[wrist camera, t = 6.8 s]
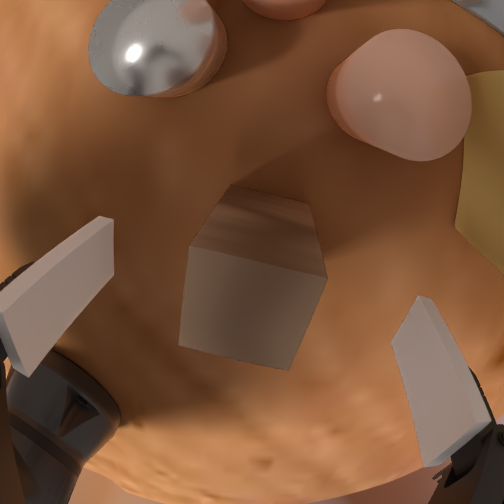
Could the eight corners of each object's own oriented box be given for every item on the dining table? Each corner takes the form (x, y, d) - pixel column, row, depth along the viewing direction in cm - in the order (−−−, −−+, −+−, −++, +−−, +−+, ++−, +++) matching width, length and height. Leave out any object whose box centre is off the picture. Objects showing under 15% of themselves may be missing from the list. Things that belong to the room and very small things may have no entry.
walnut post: (217, 255, 19) (178, 345, 12) (230, 184, 17) (189, 245, 9) (288, 272, 19) (288, 370, 12) (309, 204, 17) (327, 278, 10)
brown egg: (316, 127, 15) (335, 134, 9) (337, 42, 13) (365, 8, 7) (400, 155, 15) (453, 179, 9) (421, 75, 13) (480, 65, 7)
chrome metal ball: (118, 93, 15) (79, 94, 11) (139, 3, 12) (105, -17, 8) (215, 104, 15) (194, 102, 11) (238, 6, 12) (225, -22, 9)
